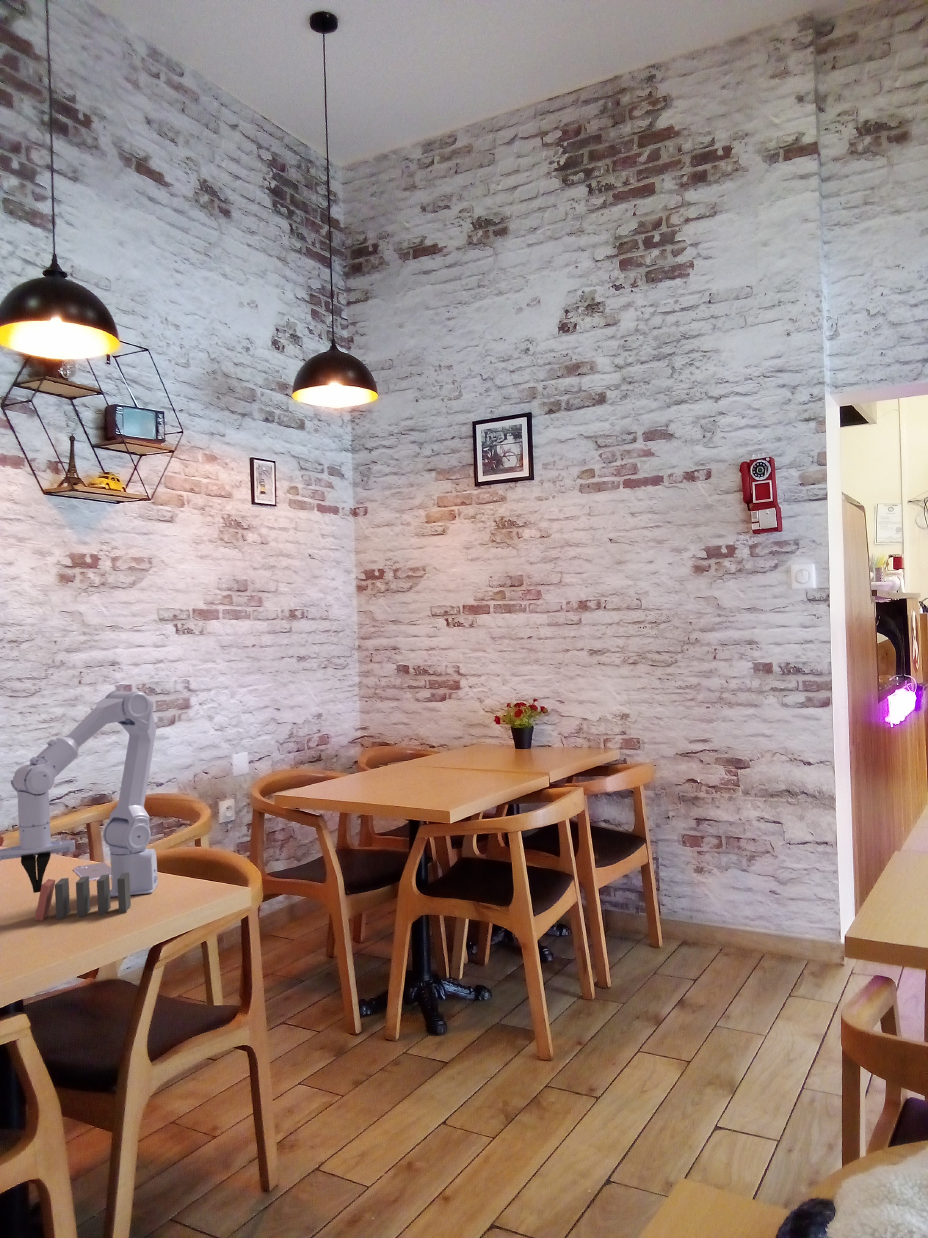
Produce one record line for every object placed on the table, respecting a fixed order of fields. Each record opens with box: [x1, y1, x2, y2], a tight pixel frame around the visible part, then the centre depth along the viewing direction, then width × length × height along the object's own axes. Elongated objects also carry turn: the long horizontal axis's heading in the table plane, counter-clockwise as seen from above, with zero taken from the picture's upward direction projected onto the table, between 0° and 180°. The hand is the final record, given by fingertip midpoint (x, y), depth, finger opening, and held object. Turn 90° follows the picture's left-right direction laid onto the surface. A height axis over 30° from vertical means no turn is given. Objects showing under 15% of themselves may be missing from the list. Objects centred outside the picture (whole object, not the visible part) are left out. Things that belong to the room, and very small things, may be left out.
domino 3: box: [96, 874, 111, 916], centre depth 181 cm, size 1×4×7 cm, turn 9°
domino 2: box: [75, 876, 91, 918], centre depth 180 cm, size 1×4×7 cm, turn 9°
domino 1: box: [54, 877, 71, 920], centre depth 180 cm, size 1×4×7 cm, turn 9°
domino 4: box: [117, 873, 132, 914], centre depth 182 cm, size 1×4×7 cm, turn 9°
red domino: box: [34, 878, 56, 922], centre depth 179 cm, size 1×4×7 cm, turn 9°
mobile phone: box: [73, 862, 111, 882], centre depth 213 cm, size 8×1×15 cm
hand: (37, 891), depth 179 cm, fingers closed
